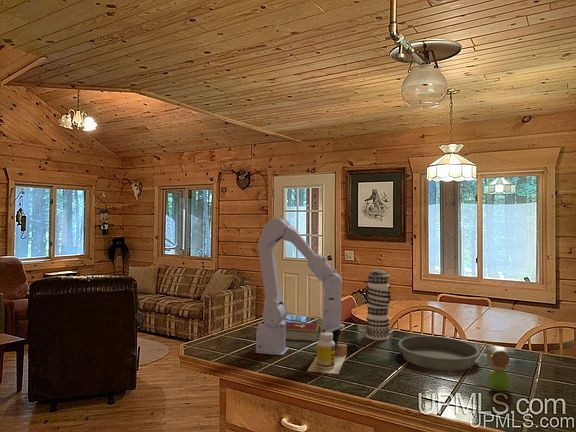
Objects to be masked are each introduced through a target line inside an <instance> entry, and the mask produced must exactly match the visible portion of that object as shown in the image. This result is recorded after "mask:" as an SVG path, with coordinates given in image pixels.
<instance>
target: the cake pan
mask: <svg viewBox="0 0 576 432" xmlns="http://www.w3.org/2000/svg"><path fill="white" fill-rule="evenodd" d="M397 345H398V347H399V348H400V349H401V351H402V356H403V358H404V359H405V361H406V362H408V361H409V363H410V362H411V363H410V364H412V365H415V366H417V367H421V368H425V369H430V370H436V371H437V370H438V371H447V372H449V371H451V372H453V371H465V370H468V369H470V368H473V366H474V365H475V362H476V357H478V356H479V355H480V354H481V351H480V350H479V348H478V347H477V346H475V345H473V344H471V343H469V342H467V341H464V340H460V339H455V338H452V337H451V338H450V337H445V336H436V335H415V336H407V337H404V338H401V339H400V340H399V341H398V343H397Z"/></svg>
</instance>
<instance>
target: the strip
mask: <svg viewBox="0 0 576 432" xmlns="http://www.w3.org/2000/svg"><path fill="white" fill-rule="evenodd" d="M347 347H348V345H347V344H345V343H342V344H341V343H337V347H336V351H335V366H334V368H332V369H322V368H319V367H317V355H316V356H315V357H314V359H313V361H312V362H311V364H310V365H309V367H308V369H307V370H306V371H307V372H312V373H320V374H328V375H339V374H340V371H341V370H342V367H343V364H344V362H345V360H346V357H347V355H348V352H347V349H348V348H347Z"/></svg>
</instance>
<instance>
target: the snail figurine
mask: <svg viewBox="0 0 576 432" xmlns="http://www.w3.org/2000/svg"><path fill="white" fill-rule="evenodd" d="M484 345H485V347H486V348H485V353H486V359H487V363H488V365H489V367H490V368H491V369H493V370H491V371H490V372H489V373H488V374H487V382H488V385H489V386H490V387H491V388H492V389H493V390H494V391H497V392H501V393H502V392H506V391H507V390H508V389H509V388H510V387H511V384H512V379H511V377H510V375H509V373H508V372H506V370H508V369H509V367H510V366H509V362H510V356H509V354H508V353H507V352H506V351H504V350H497V351H495V352H493V354H492V350H491V349H490V348H489V347H490V345H489V344H486V343H485V344H484Z"/></svg>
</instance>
